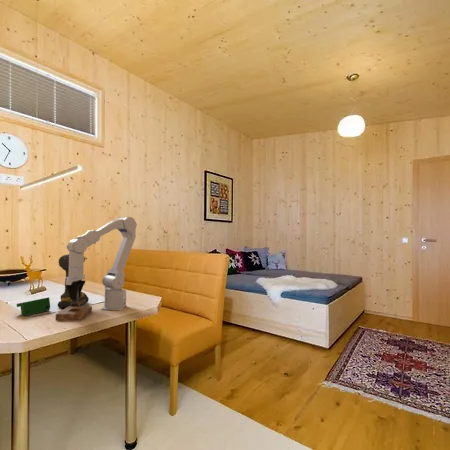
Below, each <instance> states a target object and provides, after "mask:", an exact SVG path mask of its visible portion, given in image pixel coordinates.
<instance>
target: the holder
mask: <svg viewBox="0 0 450 450" xmlns="http://www.w3.org/2000/svg"><path fill="white" fill-rule="evenodd" d="M92 312H93V306H92V305H91V306H90V305H89V306H88V305H87V306H86V305H85V306H84V305H80V306H75V307H72V306H69V307H67V308H63V309H62V310H60V311H58V312H57V313H55V321H82V320H83V319H85V318H86V317H88V315H90V314H91V313H92Z"/></svg>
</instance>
